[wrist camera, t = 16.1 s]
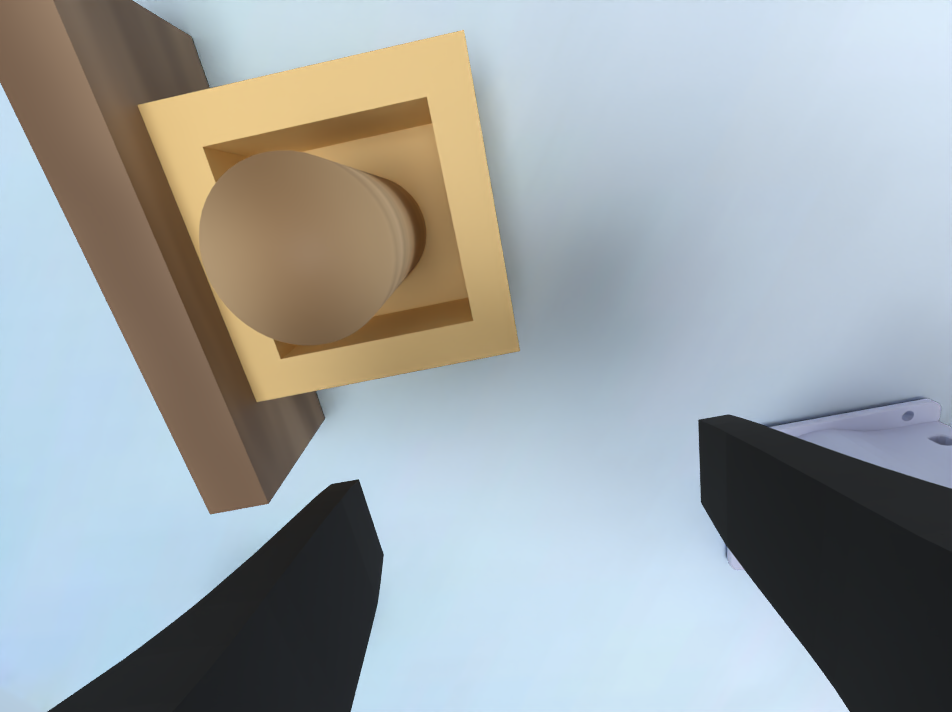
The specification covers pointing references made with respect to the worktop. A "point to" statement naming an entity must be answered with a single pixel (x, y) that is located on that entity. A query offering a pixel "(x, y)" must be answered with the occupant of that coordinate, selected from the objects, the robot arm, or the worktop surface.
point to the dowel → (307, 244)
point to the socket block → (376, 152)
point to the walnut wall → (145, 230)
